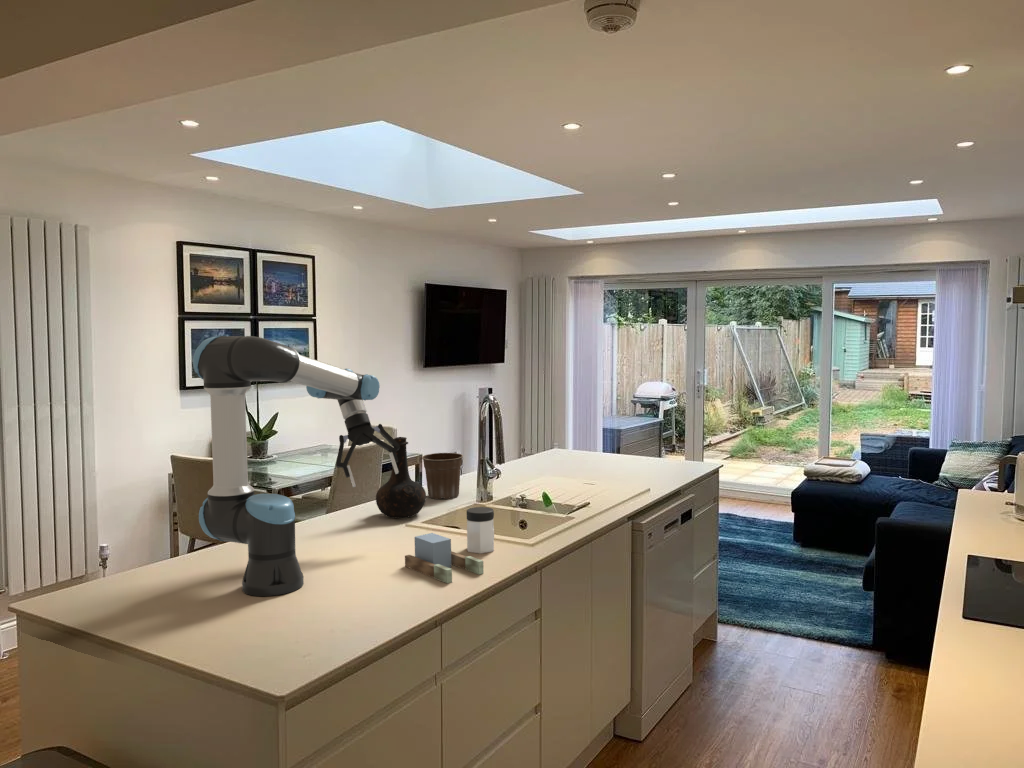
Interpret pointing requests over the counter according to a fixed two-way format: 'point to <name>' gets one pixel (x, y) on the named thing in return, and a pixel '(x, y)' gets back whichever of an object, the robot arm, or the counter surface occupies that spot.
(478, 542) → the jar
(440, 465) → the plant pot
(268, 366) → the robot arm
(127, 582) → the counter surface
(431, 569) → the chute
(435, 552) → the block
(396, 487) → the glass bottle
